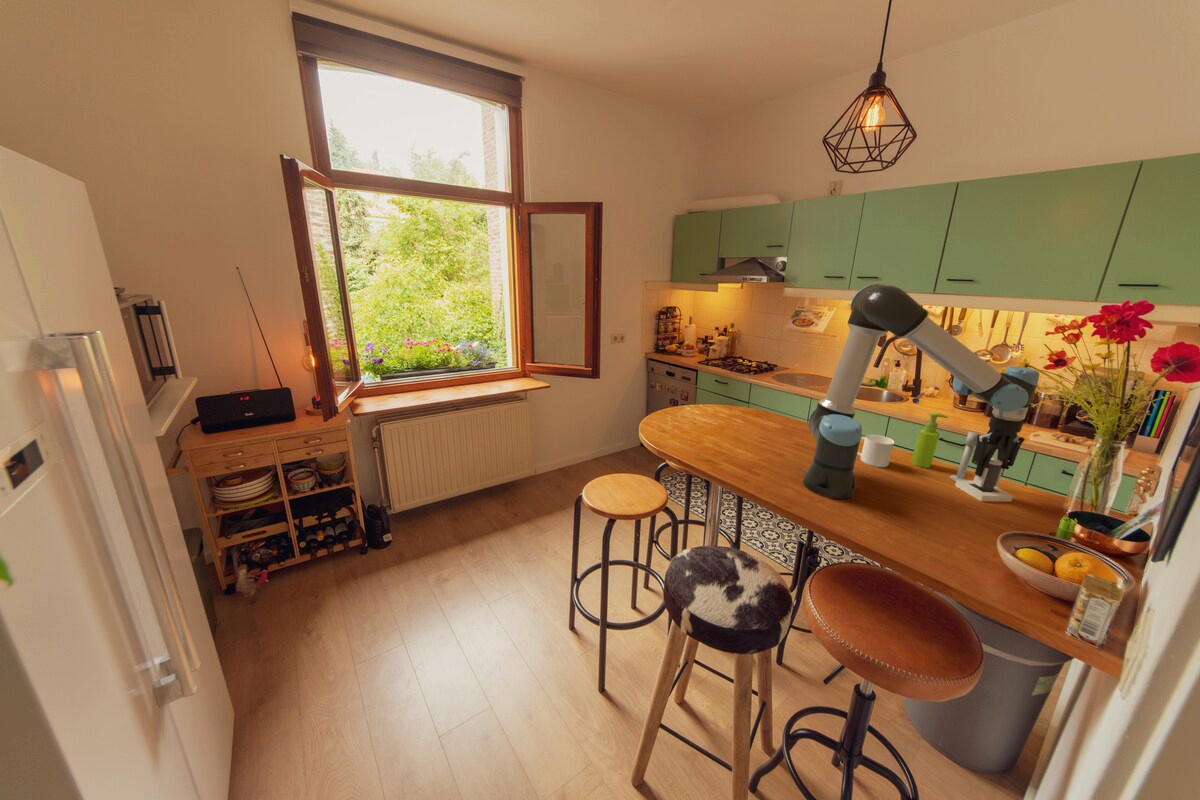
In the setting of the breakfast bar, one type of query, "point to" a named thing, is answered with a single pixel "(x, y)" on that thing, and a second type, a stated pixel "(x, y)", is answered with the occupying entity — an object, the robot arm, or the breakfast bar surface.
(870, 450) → the mug
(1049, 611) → the breakfast bar surface
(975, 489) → the socket
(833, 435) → the robot arm
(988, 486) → the dark grey cylinder
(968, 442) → the clip
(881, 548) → the breakfast bar surface
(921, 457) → the soap dispenser
